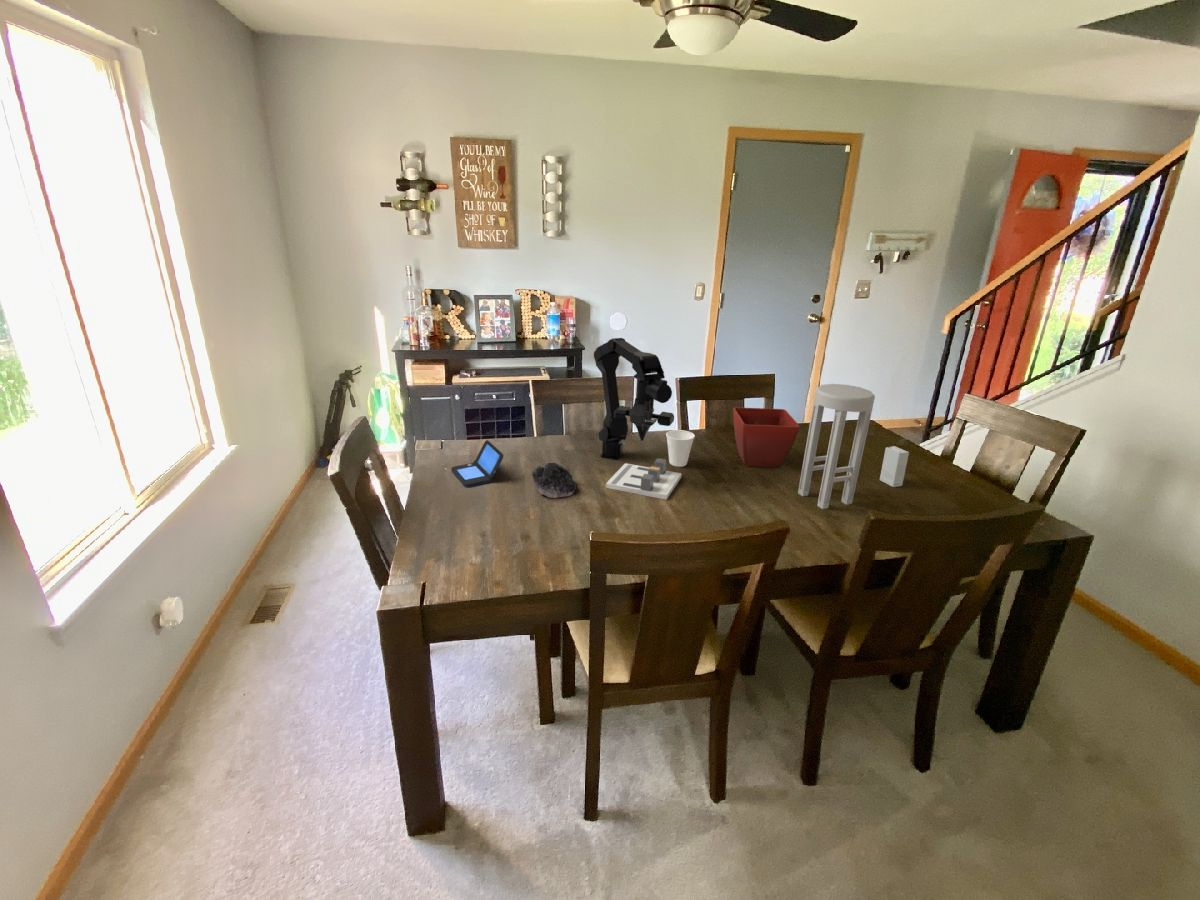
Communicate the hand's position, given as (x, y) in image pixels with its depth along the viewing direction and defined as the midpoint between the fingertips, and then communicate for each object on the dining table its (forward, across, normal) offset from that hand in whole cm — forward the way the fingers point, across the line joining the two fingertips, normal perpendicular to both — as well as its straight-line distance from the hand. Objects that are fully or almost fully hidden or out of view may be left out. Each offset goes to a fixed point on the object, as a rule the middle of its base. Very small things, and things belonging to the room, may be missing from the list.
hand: (642, 440), depth 186 cm
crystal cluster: (+13, -21, -22) cm, 33 cm away
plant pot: (+13, +35, +31) cm, 48 cm away
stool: (+13, +58, +8) cm, 60 cm away
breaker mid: (+11, +6, -5) cm, 13 cm away
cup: (+13, +9, +15) cm, 22 cm away
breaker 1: (+11, +6, -12) cm, 17 cm away
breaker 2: (+11, +6, +2) cm, 13 cm away
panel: (+12, +3, -5) cm, 14 cm away
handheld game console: (+13, -49, -23) cm, 56 cm away
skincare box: (+13, +78, +30) cm, 85 cm away
